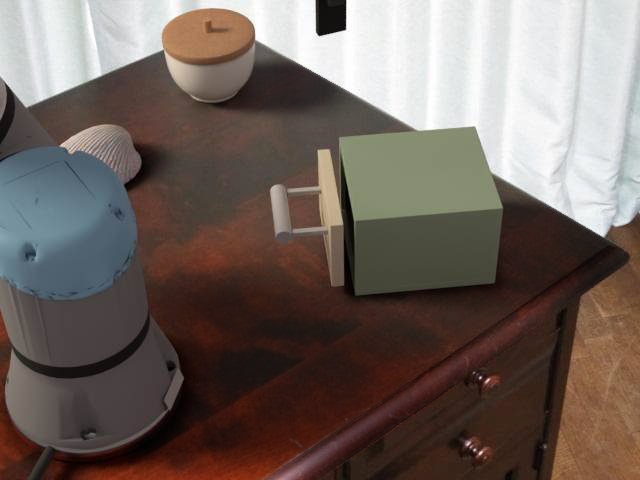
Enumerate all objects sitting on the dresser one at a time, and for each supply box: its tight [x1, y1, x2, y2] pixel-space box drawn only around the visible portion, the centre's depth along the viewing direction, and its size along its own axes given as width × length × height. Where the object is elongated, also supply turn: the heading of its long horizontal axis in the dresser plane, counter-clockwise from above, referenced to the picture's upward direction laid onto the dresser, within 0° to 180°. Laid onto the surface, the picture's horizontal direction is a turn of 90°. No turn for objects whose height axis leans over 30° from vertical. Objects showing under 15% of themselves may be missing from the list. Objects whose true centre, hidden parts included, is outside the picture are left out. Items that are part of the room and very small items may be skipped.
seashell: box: [59, 123, 142, 185], centre depth 125 cm, size 10×6×10 cm
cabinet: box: [338, 125, 504, 296], centre depth 112 cm, size 14×13×10 cm
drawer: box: [269, 148, 354, 288], centre depth 112 cm, size 18×11×8 cm, turn 96°
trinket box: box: [160, 7, 256, 104], centre depth 133 cm, size 11×11×9 cm
